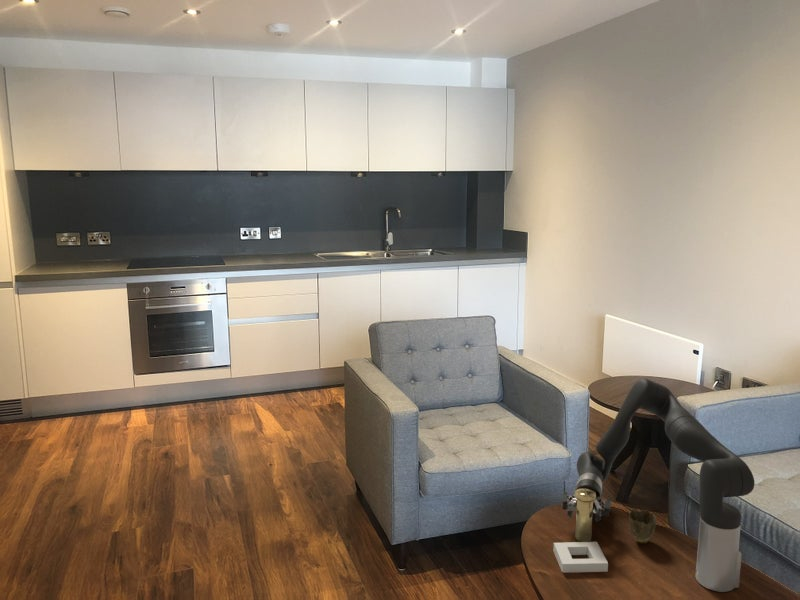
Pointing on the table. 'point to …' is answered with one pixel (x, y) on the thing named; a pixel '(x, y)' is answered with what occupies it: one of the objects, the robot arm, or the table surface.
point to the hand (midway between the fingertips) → (583, 516)
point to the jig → (568, 564)
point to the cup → (642, 525)
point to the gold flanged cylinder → (584, 514)
